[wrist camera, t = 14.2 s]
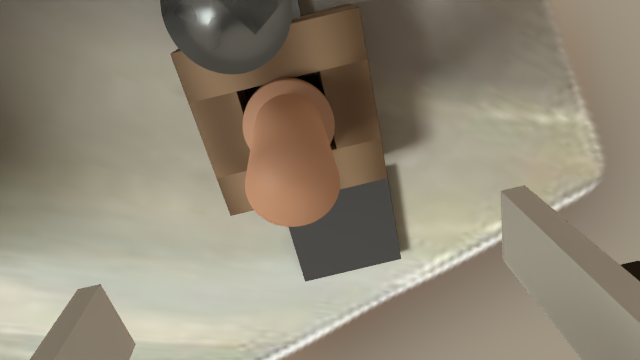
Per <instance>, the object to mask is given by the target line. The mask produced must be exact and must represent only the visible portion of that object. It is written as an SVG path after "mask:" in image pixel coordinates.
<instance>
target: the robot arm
mask: <svg viewBox="0 0 640 360" xmlns="http://www.w3.org/2000/svg"><path fill="white" fill-rule="evenodd" d="M501 214H502V245H503V261H504V262H505V263H506V265H507V266H508V267H509V268H510V270H511V271H512V272H513V273H514V275H515V276H516V277H517V279H518V280H519V281H520V282H521V283H522V285H523V286H524V287H525V289H526V290H527V291H528V292H529V294H530V295H531V296H532V297H533V299H534V300H535V301H536V302H537V304H538V305H539V306H540V307H541V309H542V310H543V311H544V313H545V314H546V315H547V316H548V318H549V319H550V320H551V321H552V323H553V324H554V325H555V326H556V328H557V329H558V330H559V331H560V333H561V334H562V335H563V336H564V338H565V339H566V340H567V342H568V343H569V344H570V345H571V347H572V348H573V349H574V350H575V352H576V353H577V354H578V356H579V357H580V358H581V359H582V360H640V261H635V262H631V263H626V264H622V265H619V264H618V263H617V262H616V261H615V260H613V259H612V258H611V257H610V256H609V255H607V254H606V253H605V252H603V250H601V249H600V248H599V247H598V246H597V245H595V244H594V243H593V242H592V241H591V240H589V239H588V238H587V237H586V236H585V235H583V234H582V233H581V232H580V231H579V230H578V229H576V228H575V227H574V226H573V225H572V224H570V223H569V222H568V221H567V220H566V219H564V218H563V217H562V216H561V215H559V214H558V213H557V212H556V211H555V210H554V209H552V208H551V207H550V206H549V205H548V204H546V203H545V202H544V201H543V200H542V199H540V198H539V197H538V196H537V195H536V194H534V193H533V192H532V191H531V190H530V189H528V188H527V187H526V186H525V185H524V186H520V187H516V188H512V189H507V190H503V191H501ZM134 347H135V342H134V341H133V339H132V337H131V336H130V334H129V332H128V330H127V329H126V327H125V325H124V324H123V322H122V320H121V319H120V317H119V315H118V313H117V312H116V310H115V308H114V307H113V305H112V303H111V301H110V300H109V298H108V296H107V295H106V293H105V291H104V289H103V288H102V286H101V284H99V285H95V286H90V287H86V288H82V289H78V290H77V291H76V293H75V294H74V296H73V297H72V299H71V300H70V301H69V303H68V304H67V306H66V307H65V309H64V310H63V312H62V313H61V315H60V316H59V318H58V319H57V321H56V322H55V324H54V325H53V326H52V328H51V329H50V331H49V332H48V334H47V335H46V337H45V338H44V340H43V341H42V343H41V344H40V346H39V347H38V349H37V350H36V351H35V353H34V354H33V356H32V357H31V359H30V360H129V359H130V356H131V354H132V352H133V349H134Z"/></svg>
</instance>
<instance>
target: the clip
mask: <svg viewBox="0 0 640 360" xmlns="http://www.w3.org/2000/svg"><path fill="white" fill-rule="evenodd" d="M160 3H161V12H162V16H163V20H164V23H165V25H166V28H167V30H168V32H169V34H170V36H171V38H172V40H173V41H174V43H175V44H176V45H177V47H178V48H179V49H180V50H181V51H182V52H183V53H184V54H185V55H186V56H187V57H188V58H189V59H190V60H192V61H193V62H194V63H196V64H198V65H199V66H201V67H203V68H205V69H208V70H210V71H213V72H217V73H222V74H243V73H247V72H251V71H253V70H256V69H258V68H260V67H262V66H263V65H265V64H266V63H268V62H269V61H270V60H271V59H272V58H273V57H274V56H275V55H276V54H277V53H278V52H279V50H280V49H281V48H282V46H283V44H284V42H285V40H286V38H287V35H288V33H289V29H290V25H291V18H292V4H291V0H160Z"/></svg>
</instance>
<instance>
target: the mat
mask: <svg viewBox="0 0 640 360" xmlns="http://www.w3.org/2000/svg"><path fill="white" fill-rule="evenodd" d="M289 230H290V233H291V236H292V239H293V243H294V246H295V249H296V253H297V256H298V259H299V262H300V266H301V269H302V272H303V276H304V279H305V281H309V280H314V279H318V278H322V277H326V276H330V275H335V274H339V273H343V272H347V271H352V270H356V269H360V268H364V267H368V266H373V265H377V264H381V263H385V262H389V261H394V260H398V259H401V255H400V249H399V243H398V237H397V231H396V225H395V219H394V213H393V207H392V201H391V195H390V189H389V183H388V177H387V178H386V179H381V180H377V181H373V182H369V183H365V184H361V185H356V186H352V187H348V188H344V189H340V191H339V195H338V198H337V200H336V202H335V204H334V205H333V207H332V208H331V209H330V211H329V212H328V213H327V214H325V215H324V216H323V217H322V218H320V219H318V220H317V221H315V222H313V223H310V224H307V225H303V226H297V227H289Z"/></svg>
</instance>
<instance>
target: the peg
mask: <svg viewBox="0 0 640 360" xmlns="http://www.w3.org/2000/svg"><path fill="white" fill-rule="evenodd" d="M242 127H243V134H244V138H245V141H246V143H247V145H248V147H249V149H250V155H249V161H248V166H247V172H246V178H245V192H246V196H247V199H248V201H249V203H250V205H251V206H252V208H253V209H254V210H255V211H256V212H257V213H258V214H259V215H260V216H261V217H262V218H264V219H265V220H267V221H269V222H271V223H274V224H277V225H280V226H286V227H297V226H303V225H307V224H310V223H313V222H315V221H317V220H318V219H320V218H322V217H323V216H324V215H325V214H327V213H328V212H329V211H330V209H331V208H332V207H333V205H334V204H335V202H336V200H337V198H338V195H339V191H340V176H339V172H338V169H337V166H336V163H335V159H334V156H333V153H332V150H331V147H330V144H331V141H332V139H333V135H334V129H335V121H334V115H333V112H332V109H331V107H330V105H329V102H328V100H327V99H326V97H325V96H324V95H323V93H322V92H321V91H320V90H319V89H318V88H316V87H315V86H313V85H312V84H310V83H308V82H306V81H303V80H300V79H297V78H281V79H276V80H273V81H270V82H268V83H266V84H264V85H263V86H261V87H260V88H259V89H258V90H256V92H255V93H254V94H253V95H252V96H251V98H250V99H249V101H248V103H247V105H246V109H245V112H244V116H243V125H242Z"/></svg>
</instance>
